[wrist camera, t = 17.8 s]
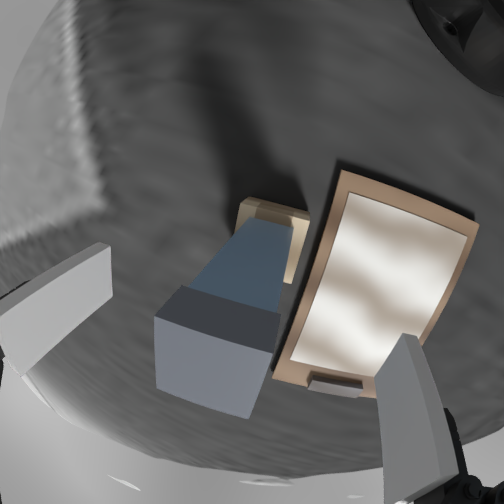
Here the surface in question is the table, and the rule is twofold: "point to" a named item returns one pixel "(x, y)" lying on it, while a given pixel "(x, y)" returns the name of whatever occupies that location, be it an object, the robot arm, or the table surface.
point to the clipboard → (372, 285)
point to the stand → (279, 216)
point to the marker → (225, 322)
